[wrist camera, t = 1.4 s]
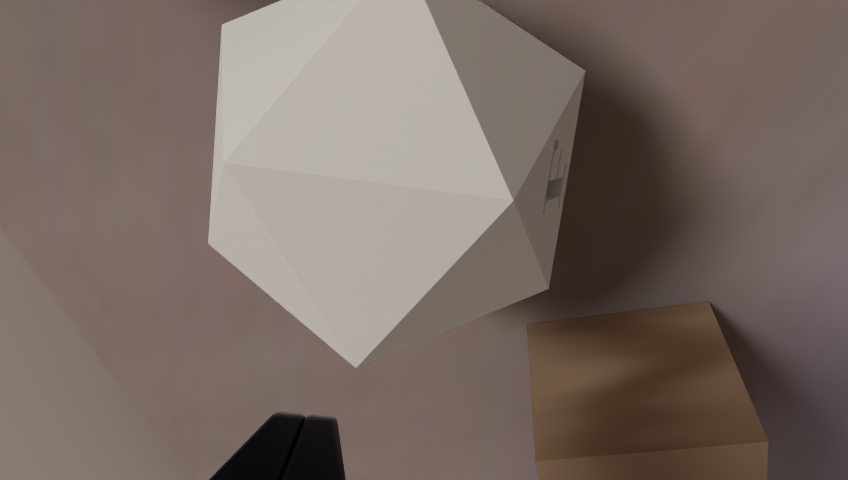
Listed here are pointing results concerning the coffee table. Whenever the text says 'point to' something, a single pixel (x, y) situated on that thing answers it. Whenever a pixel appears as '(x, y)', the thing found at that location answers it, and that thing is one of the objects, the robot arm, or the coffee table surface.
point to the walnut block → (642, 399)
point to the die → (390, 164)
